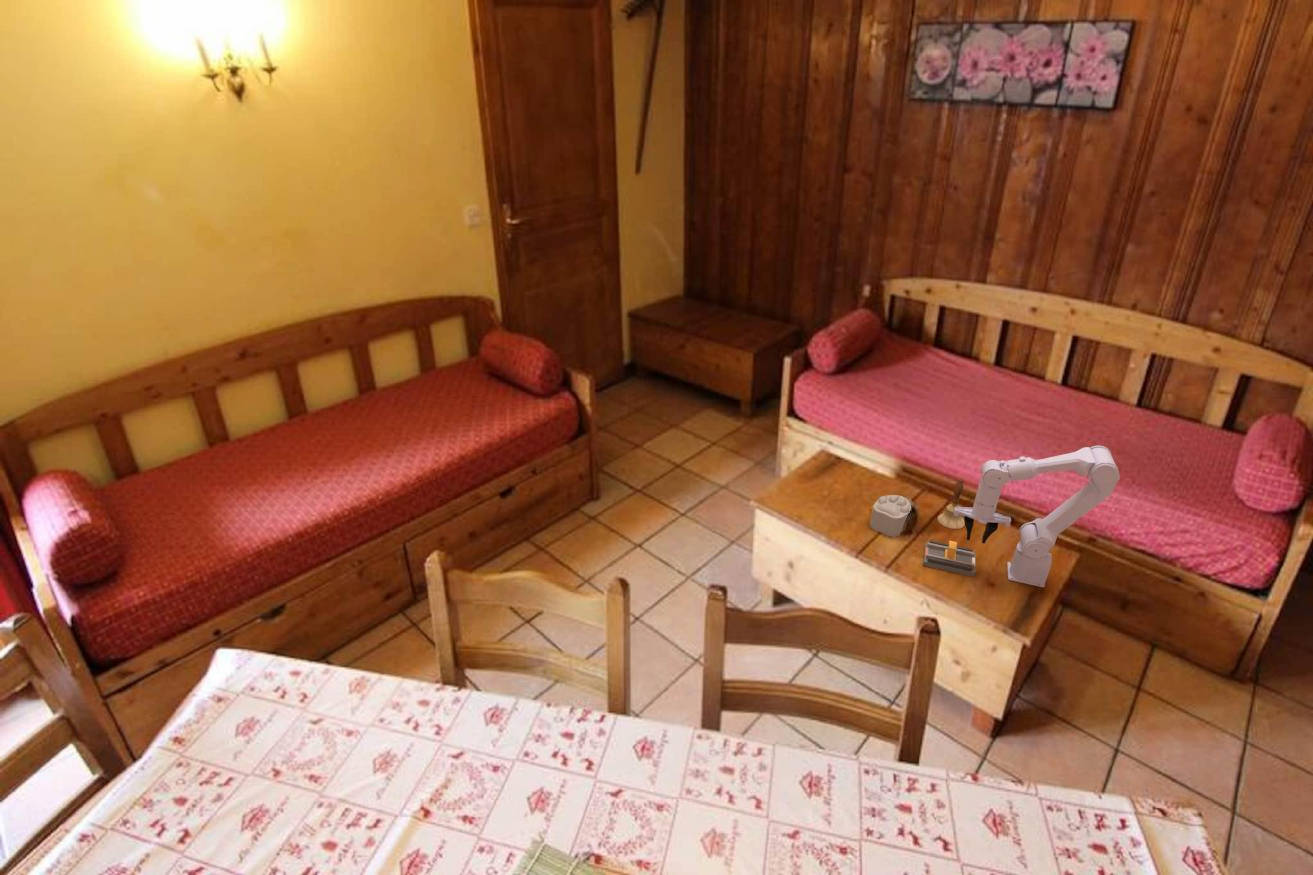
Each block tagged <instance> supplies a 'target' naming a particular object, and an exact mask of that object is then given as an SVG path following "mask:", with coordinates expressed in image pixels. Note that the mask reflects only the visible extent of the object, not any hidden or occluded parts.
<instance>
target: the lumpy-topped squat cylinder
mask: <svg viewBox="0 0 1313 875" xmlns="http://www.w3.org/2000/svg"><path fill="white" fill-rule="evenodd" d="M910 511H911V512H912V504H911V502H910V501H909V500H908V499H907V498H906V497H904V496H902V495H899V494H898V495H897V494H889V495H884V496H883V495H882V496H880V497H879V498H878V499H877V500H876V501H875V502H874V504H873V505H872V510H871V516H870V521H869V527H870V529H872V530H874V531H877V532H878V533H882V534H883V535H885V536H887V537H890V536H891V538H896V536H897V537H899V536H901V535H900V532H901V528H902V526H903V524H904V522H905V520H906V518H907V516H908V514H909V513H910ZM910 514H911V513H910Z"/></svg>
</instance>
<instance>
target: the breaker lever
mask: <svg viewBox="0 0 1313 875" xmlns="http://www.w3.org/2000/svg"><path fill="white" fill-rule="evenodd" d="M948 544H949V545H948V549H947V550H946V549H945V558H949V559H954V560H956V548H957V546H958V542H957V541H953V540H949V541H948Z"/></svg>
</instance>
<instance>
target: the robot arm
mask: <svg viewBox="0 0 1313 875" xmlns="http://www.w3.org/2000/svg"><path fill="white" fill-rule="evenodd" d="M1119 470H1120V469H1119V468H1118V465H1117V464H1116V463H1115V460H1114V458H1113V455H1112V452H1111V451H1110V449H1109V448H1108V447H1106V446H1103V445H1093V446H1091V447H1090V446H1086V447H1085V446H1084V447H1081V448H1080V449H1078V450H1077V451H1072V452H1070V453H1064V454H1059V455H1054V456H1050V457H1047V458H1042V459H1041V458H1040V459H1034V458H1032V457H1030V456H1028V457H1026V456H1024V455H1023V456H1019V458H1016V459H1009V460H1003V459H1002V460H995V459H991V460H987V461H986V462H984V463H983V464H982V465H981V466H980V471H981V474H982V475H981V478H980V480H979V484H978V487H977V490H976V495H975V498H974V501H973V506H972V507H966V506H965V507H962V506H960V507H955V510H954V516H958V515H959V516H962V517H963V519H964V523H965V526H964V527H965V530H966V541H971V540H970V539H971V534H972V530H973V527H974V522H975V521H977V522H978V523H979V524H983V525H985V528H984V531H983V534H982V537H981V543H982V544H986V542H987V540H988V539H989V537H990V536H992V534H993V533H995V532H996V531H997V530H998V528H999V524H1000V525H1005V527H1008V528H1009V527H1010V526H1011V522H1012V518H1011V517H1010V516H1008V515H1007V516H1006V515H1003V514H1001V513H998V512H996V509H997V505H998V503H999V498H1000V496H1001V492H1002V488H1003V487H1004V486H1005V485H1006V484H1010V482H1016V481H1017V482H1018V481H1023V480H1030V479H1035V478H1036V477H1037V476H1038V474H1040V473H1042V474H1044V473H1052V472H1062V471H1063V472H1064V471H1065V472H1066V471H1074V472H1076V473H1078V474H1080V475H1081V476H1083V478H1087V477H1088V481H1089V482H1088V484H1086V485H1085V486H1083V487H1082V488H1081V489H1080V490H1078V491H1077V492H1076V493H1075V494H1073V495H1072V496H1071V497H1069V498H1068V499H1067V500H1066V501H1064V502H1063V503H1061V505H1059V506H1058V507H1057V508H1055V509H1054V510H1053V511H1052V512H1050V513H1049V514H1047V515H1046V516H1045V517H1044V518H1039V517H1036V518H1035V519H1034V520H1032V521H1030V522H1026V523H1023V524H1022V525H1021V526H1020V528H1019V531H1018V533H1019V536H1020V540H1019V541H1018V542H1017V544H1016V547H1015V550H1014V554H1013V557H1012V561H1008V562H1007V564H1006V567H1007V580H1009V581H1013V582H1016V583H1021V584H1026V585H1030V586H1036V587H1039V588H1045V587H1046V582H1047V580H1048V579H1047V578H1048V576H1049V573H1050V570H1051V566H1052V561H1053V557H1052V556H1053V555H1052V553H1050V552H1049V551H1050V549H1051V548H1053V547H1054V545H1055V544H1056V540H1057V538H1058V536H1059V535H1060V534H1061V533H1062V532H1064V531H1065V530H1066V529H1067V528H1069V527H1070V526H1071V525H1072V524H1074V523H1076V522H1077V521H1078V520H1080V519H1081V518H1082V517H1083V516H1085V515H1086V514H1087V513H1089V512H1090V511H1092V510H1093V509H1094V508H1095V507H1096V506H1098V505H1100V504H1101V503H1102V502H1103V501H1105V500H1106V499H1107V498H1108V497H1110V496H1111V495H1112V494H1113V492H1114V490H1115V488H1116V484H1117V483H1118V481H1120V480H1121V476H1120V475H1121V474H1120V471H1119Z"/></svg>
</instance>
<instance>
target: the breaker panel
mask: <svg viewBox="0 0 1313 875" xmlns="http://www.w3.org/2000/svg"><path fill="white" fill-rule="evenodd" d="M948 545H949V543H945V542H941V541H936V540H931V539H930V540H929V542H928V541H925V545H924V554H923V562H922V563H923V565H922V566H923V567H928V568H932V569H936V570H941V571H945V572H948V573H949V572H950V573H955V574H958V575H962V576H968V577H972V578H974V577H975V575H976V551H973V550H974V549H973V548H970V547H969V548H968V547H965V546H960V545H957V548H956V560H954V559H949V558H945V549H946V550H947V549H948Z"/></svg>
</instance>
